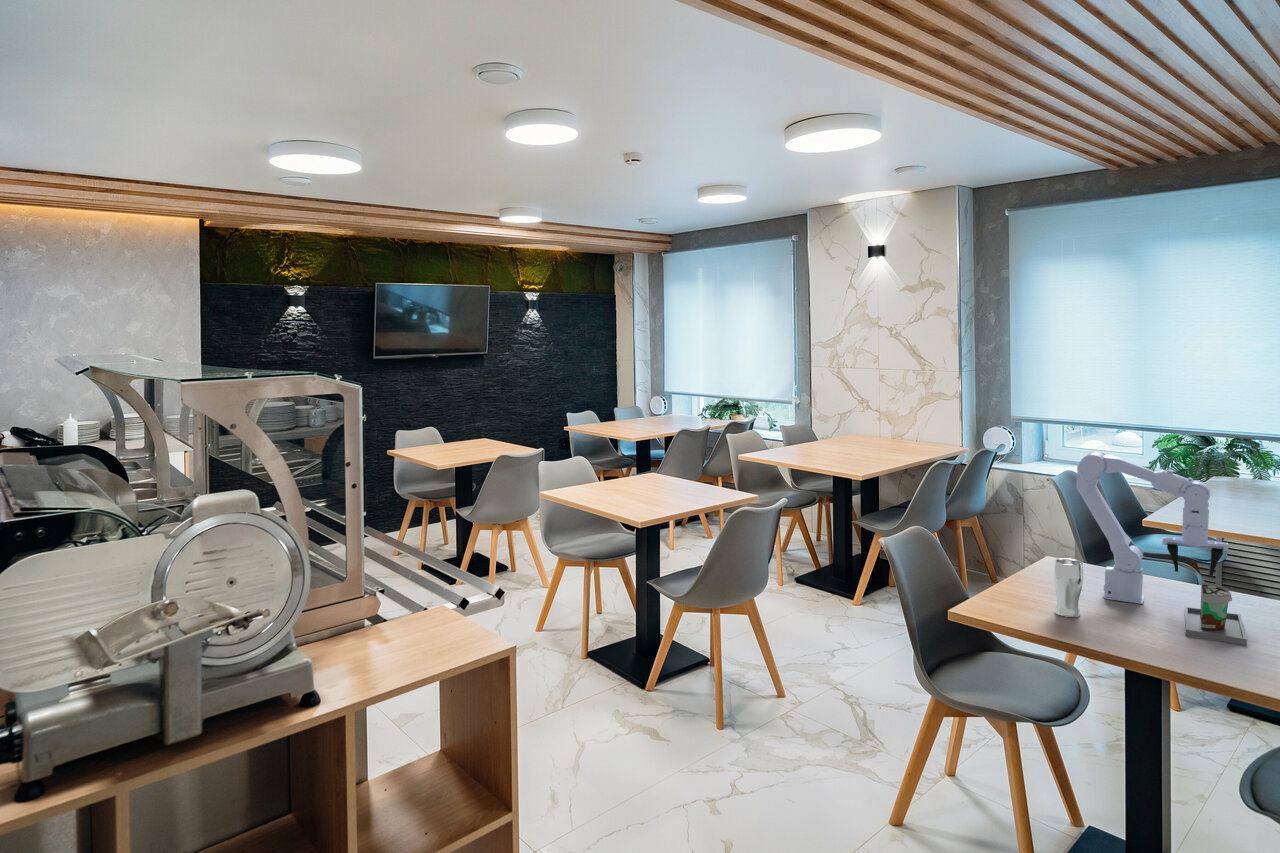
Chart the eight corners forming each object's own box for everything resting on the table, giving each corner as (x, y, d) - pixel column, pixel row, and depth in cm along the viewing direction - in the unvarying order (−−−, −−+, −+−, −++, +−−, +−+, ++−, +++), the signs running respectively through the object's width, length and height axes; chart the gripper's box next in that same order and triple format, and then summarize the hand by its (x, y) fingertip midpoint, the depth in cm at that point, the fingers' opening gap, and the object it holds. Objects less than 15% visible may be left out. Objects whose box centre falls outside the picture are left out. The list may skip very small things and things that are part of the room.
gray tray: (1185, 635, 187) (1186, 629, 187) (1184, 612, 203) (1184, 606, 203) (1246, 645, 180) (1246, 639, 180) (1240, 620, 196) (1240, 614, 196)
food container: (1232, 636, 185) (1234, 598, 184) (1201, 631, 188) (1203, 594, 187) (1228, 621, 194) (1230, 584, 193) (1199, 617, 198) (1201, 581, 197)
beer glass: (1080, 611, 206) (1081, 559, 204) (1083, 619, 199) (1085, 566, 198) (1051, 608, 209) (1053, 557, 207) (1054, 616, 202) (1055, 563, 201)
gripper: (1163, 525, 204) (1161, 572, 205) (1229, 530, 196) (1227, 580, 197) (1163, 520, 210) (1161, 566, 211) (1228, 525, 201) (1226, 573, 203)
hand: (1193, 572), depth 204 cm, fingers open, 7 cm apart
